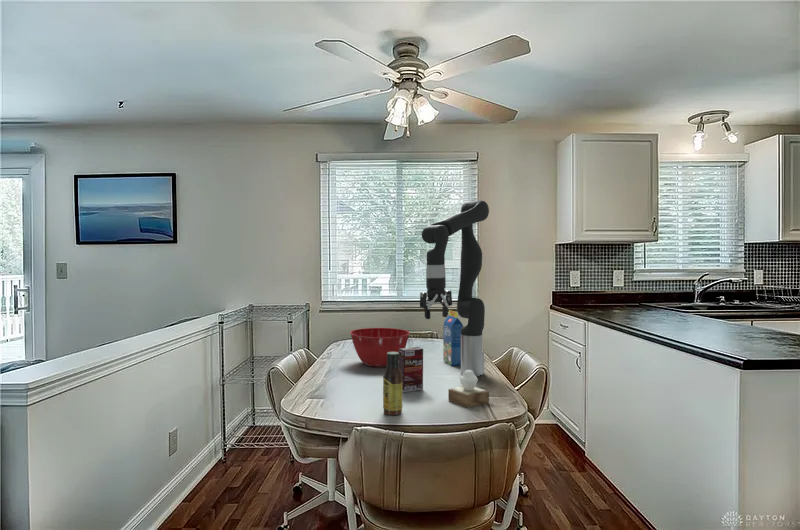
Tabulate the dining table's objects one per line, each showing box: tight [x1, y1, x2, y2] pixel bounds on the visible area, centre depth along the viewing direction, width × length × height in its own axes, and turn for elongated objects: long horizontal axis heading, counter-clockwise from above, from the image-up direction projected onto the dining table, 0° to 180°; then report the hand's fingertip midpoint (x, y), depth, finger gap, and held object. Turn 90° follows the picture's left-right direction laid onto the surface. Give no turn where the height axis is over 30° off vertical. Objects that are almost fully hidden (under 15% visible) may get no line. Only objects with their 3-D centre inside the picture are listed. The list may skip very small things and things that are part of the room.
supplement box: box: [399, 346, 424, 393], centre depth 189 cm, size 9×5×16 cm, turn 117°
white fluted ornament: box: [459, 370, 479, 390], centre depth 174 cm, size 6×6×7 cm
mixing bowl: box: [349, 327, 411, 368], centre depth 235 cm, size 28×28×16 cm
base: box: [448, 386, 490, 408], centre depth 174 cm, size 10×10×4 cm
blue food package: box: [442, 309, 464, 367], centre depth 237 cm, size 6×12×25 cm, turn 13°
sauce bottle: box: [382, 352, 403, 416], centre depth 161 cm, size 7×6×20 cm
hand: (436, 317), depth 193 cm, fingers open, 8 cm apart
